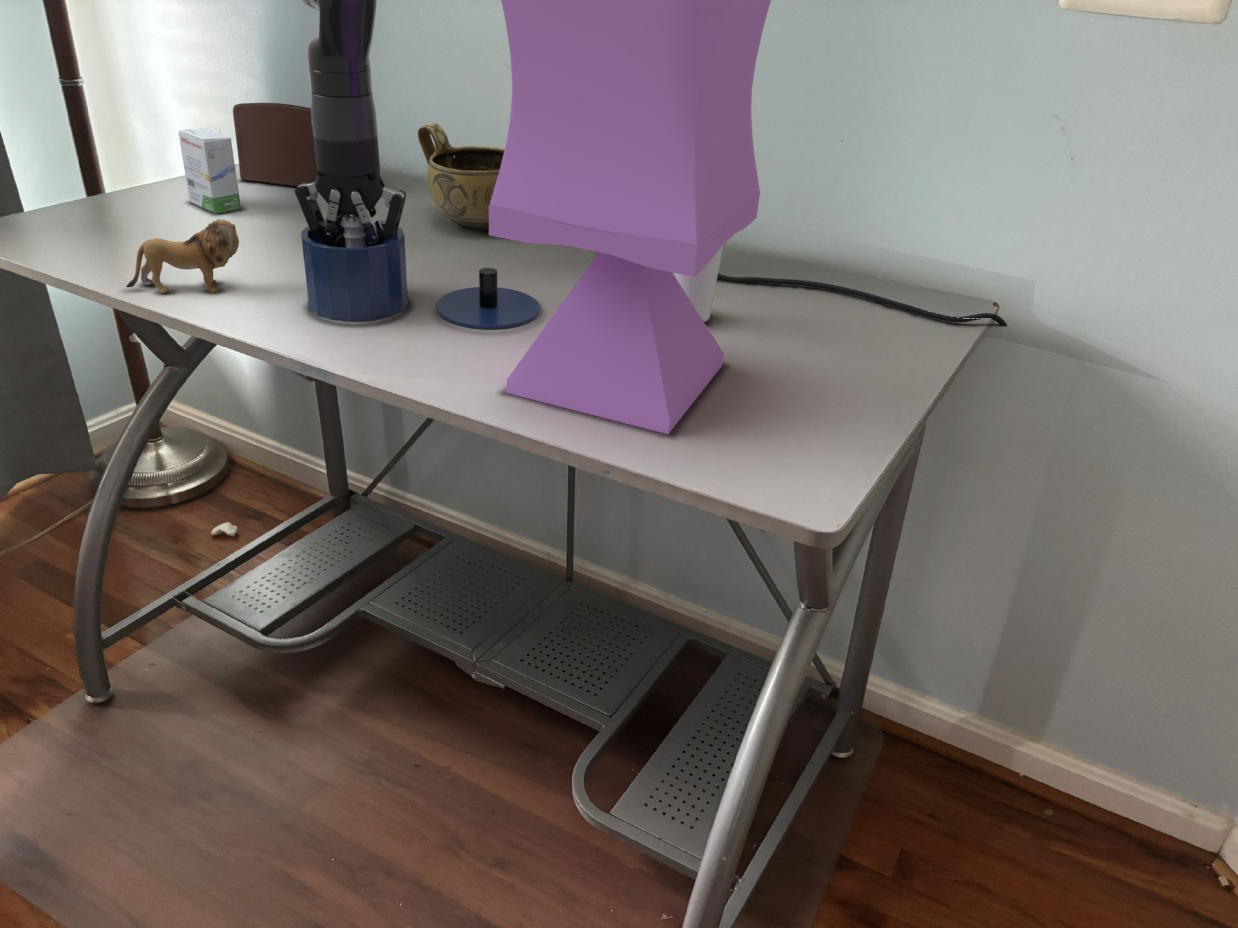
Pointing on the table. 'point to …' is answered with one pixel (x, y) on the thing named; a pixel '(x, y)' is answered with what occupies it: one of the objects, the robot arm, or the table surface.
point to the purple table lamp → (628, 188)
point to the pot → (355, 277)
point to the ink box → (209, 170)
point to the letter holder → (275, 143)
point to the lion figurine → (189, 254)
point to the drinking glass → (702, 285)
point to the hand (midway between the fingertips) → (357, 266)
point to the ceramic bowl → (460, 177)
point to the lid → (488, 305)
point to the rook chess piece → (353, 232)
